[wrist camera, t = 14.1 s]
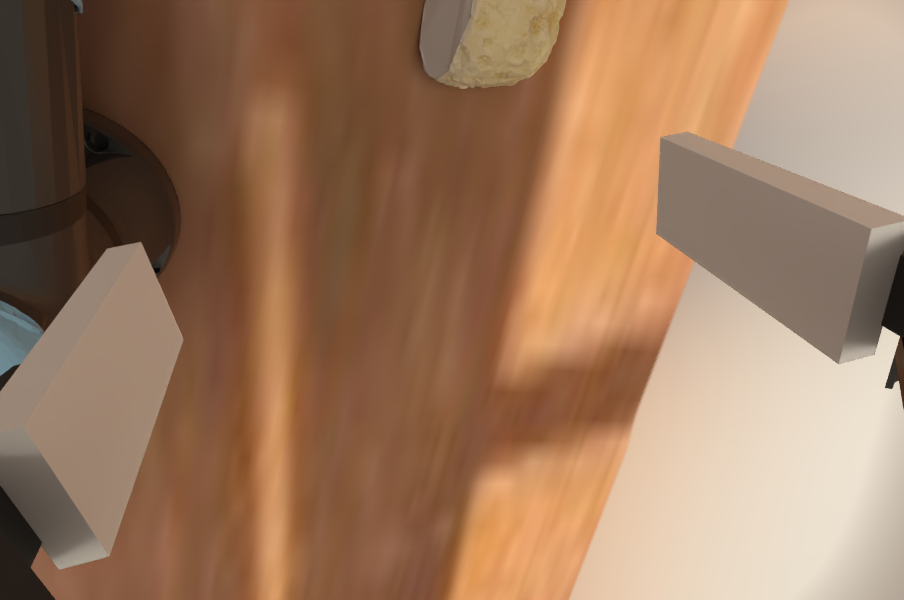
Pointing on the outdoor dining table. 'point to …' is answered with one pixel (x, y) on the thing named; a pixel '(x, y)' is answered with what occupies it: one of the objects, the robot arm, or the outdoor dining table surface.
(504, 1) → the beige rounded lump
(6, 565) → the robot arm
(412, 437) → the outdoor dining table surface
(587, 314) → the outdoor dining table surface
